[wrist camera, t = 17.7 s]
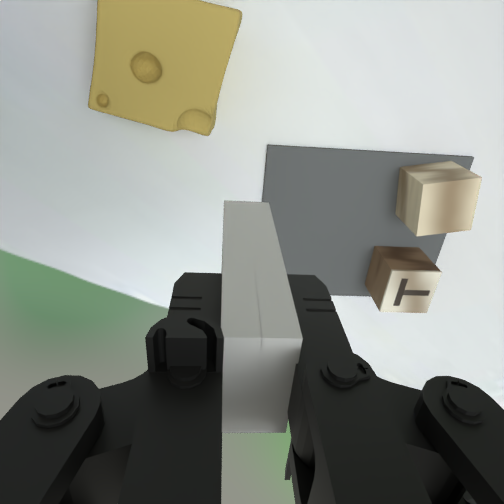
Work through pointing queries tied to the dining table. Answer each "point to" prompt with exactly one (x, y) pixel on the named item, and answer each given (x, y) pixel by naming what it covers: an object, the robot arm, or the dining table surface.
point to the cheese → (162, 61)
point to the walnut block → (401, 279)
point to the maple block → (437, 197)
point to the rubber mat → (341, 210)
